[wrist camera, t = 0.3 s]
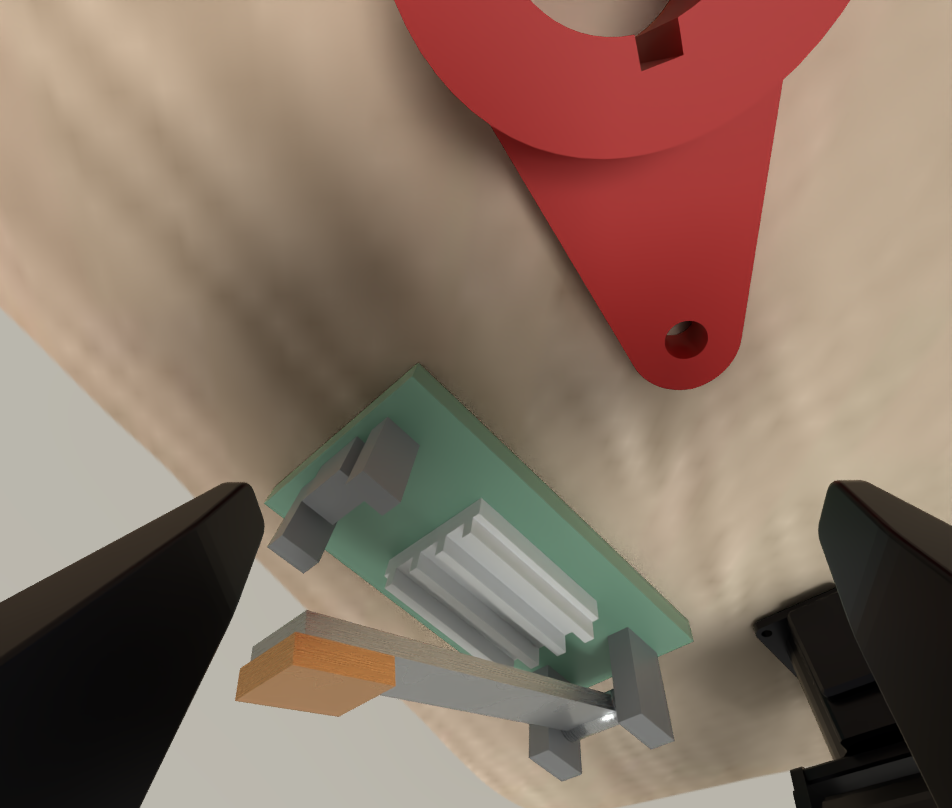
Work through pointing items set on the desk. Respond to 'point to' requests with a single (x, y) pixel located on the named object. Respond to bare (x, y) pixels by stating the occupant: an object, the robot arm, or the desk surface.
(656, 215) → the lever
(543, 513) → the base
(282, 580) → the desk surface
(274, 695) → the strap
